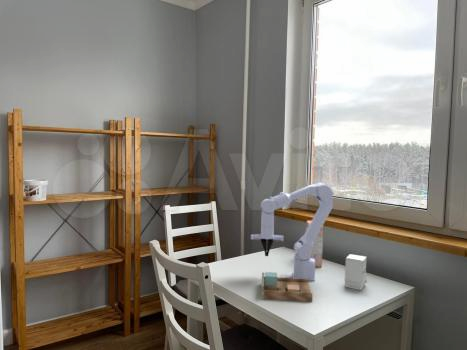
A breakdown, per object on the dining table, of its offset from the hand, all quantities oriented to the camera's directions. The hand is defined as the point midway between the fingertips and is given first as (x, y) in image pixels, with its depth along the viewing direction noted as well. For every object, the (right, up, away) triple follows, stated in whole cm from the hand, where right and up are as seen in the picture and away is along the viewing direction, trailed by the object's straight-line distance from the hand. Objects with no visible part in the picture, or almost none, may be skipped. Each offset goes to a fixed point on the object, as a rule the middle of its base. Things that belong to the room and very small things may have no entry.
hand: (266, 255), depth 159 cm
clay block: (+8, -12, -20) cm, 25 cm away
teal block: (+1, -9, -13) cm, 15 cm away
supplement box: (+37, -11, -8) cm, 40 cm away
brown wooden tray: (+6, -11, -16) cm, 21 cm away
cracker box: (+26, -9, +22) cm, 35 cm away
